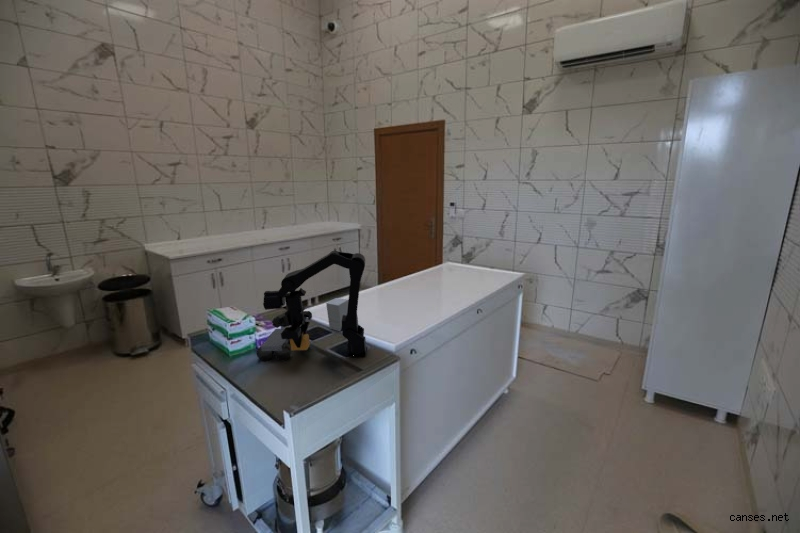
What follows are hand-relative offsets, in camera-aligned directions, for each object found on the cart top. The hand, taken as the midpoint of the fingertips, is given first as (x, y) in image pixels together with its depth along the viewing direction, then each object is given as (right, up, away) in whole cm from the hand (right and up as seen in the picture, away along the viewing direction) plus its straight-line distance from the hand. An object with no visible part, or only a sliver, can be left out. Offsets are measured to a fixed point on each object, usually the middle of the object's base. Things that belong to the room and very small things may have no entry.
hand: (300, 344), depth 140 cm
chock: (0, -1, 0) cm, 1 cm away
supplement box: (+11, +2, +26) cm, 29 cm away
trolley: (-10, -4, +8) cm, 13 cm away
